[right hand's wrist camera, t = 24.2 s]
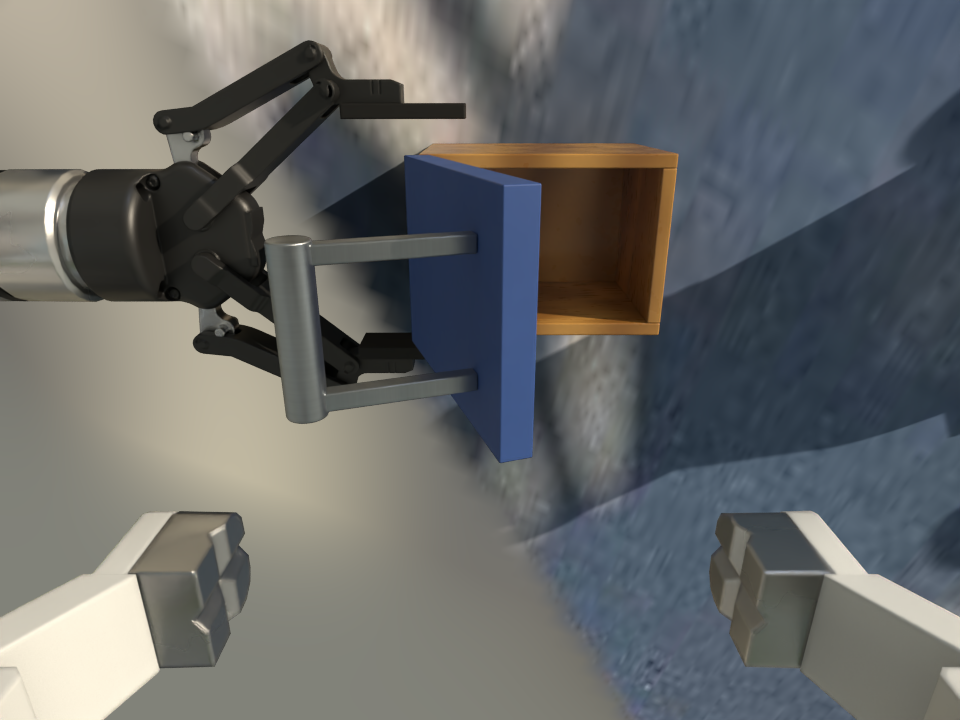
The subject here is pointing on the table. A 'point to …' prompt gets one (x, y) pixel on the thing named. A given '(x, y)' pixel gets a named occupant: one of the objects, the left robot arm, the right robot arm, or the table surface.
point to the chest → (592, 229)
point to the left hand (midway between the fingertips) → (467, 236)
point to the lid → (432, 302)
